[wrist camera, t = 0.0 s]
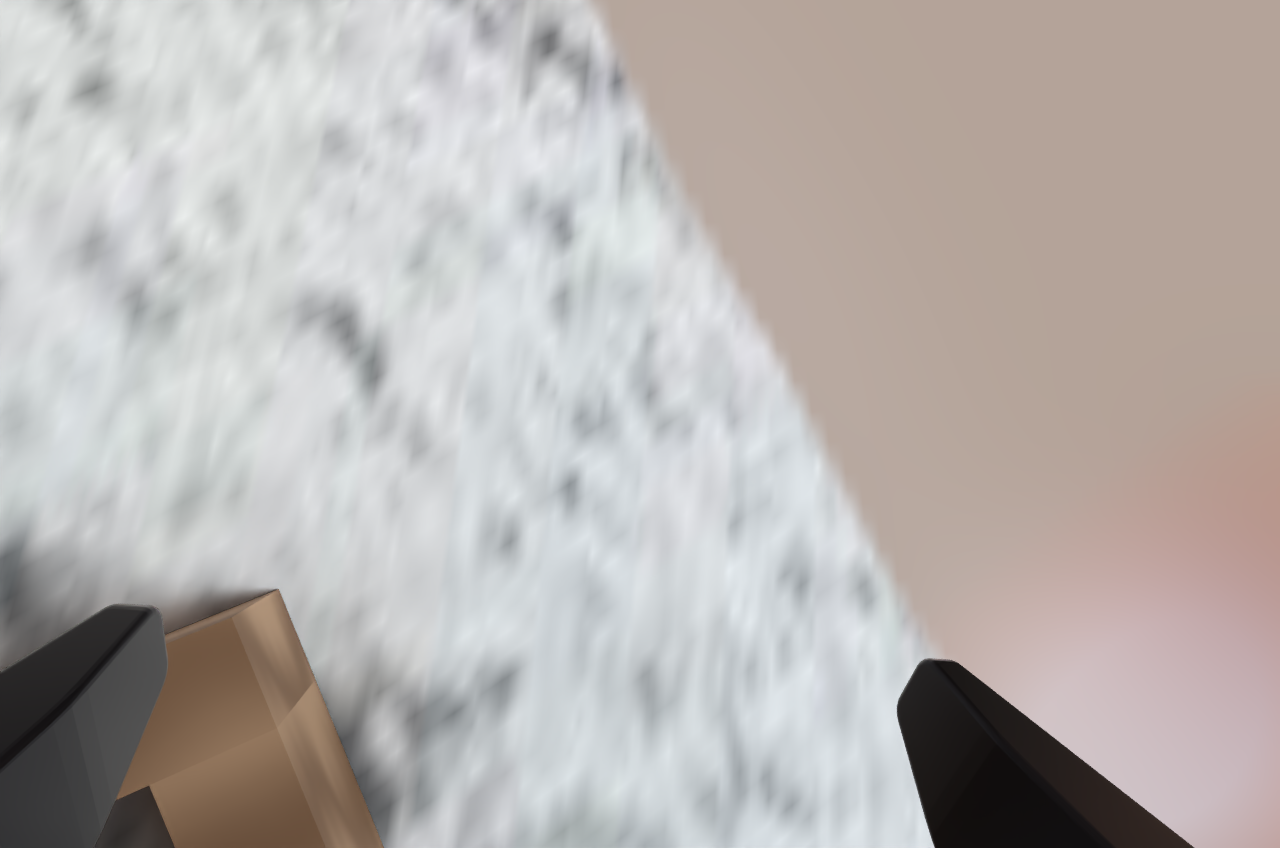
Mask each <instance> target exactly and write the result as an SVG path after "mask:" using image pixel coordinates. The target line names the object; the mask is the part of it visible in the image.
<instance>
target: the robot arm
mask: <svg viewBox="0 0 1280 848" xmlns="http://www.w3.org/2000/svg"><path fill="white" fill-rule="evenodd" d="M167 669H168V656H167V649H166V642H165V635H164V627H163V620H162V615H161V612H160V611H159V609H158V608H156V607H153V606H148V605H133V604H113V605H110V606H108V607H106V608H104V609H102V610H100V611H99V612H97V613H96V614H94V615H92V616H91V617H89V618H87V619H86V620H84V621H82V622H81V623H79V624H77V625H76V626H74V627H73V628H71V629H69V630H68V631H66V632H64V633H63V634H61V635H59V636H58V637H56V638H55V639H53V640H51V641H50V642H48V643H46V644H45V645H43V646H41V647H40V648H38V649H37V650H35V651H33V652H32V653H30V654H28V655H27V656H25V657H23V658H22V659H20V660H18V661H17V662H15V663H14V664H12V665H10V666H9V667H7V668H5V669H4V670H2V671H0V848H94V846H95V844H96V842H97V840H98V838H99V836H100V834H101V832H102V830H103V828H104V826H105V823H106V821H107V819H108V817H109V814H110V812H111V810H112V807H113V805H114V803H115V800H116V798H117V796H118V793H119V791H120V788H121V786H122V784H123V781H124V779H125V776H126V774H127V771H128V769H129V767H130V764H131V762H132V759H133V757H134V755H135V752H136V750H137V747H138V745H139V743H140V740H141V738H142V735H143V733H144V731H145V728H146V726H147V723H148V721H149V719H150V716H151V714H152V711H153V709H154V707H155V704H156V702H157V699H158V697H159V695H160V692H161V690H162V687H163V685H164V682H165V678H166V675H167ZM897 717H898V722H899V725H900V729H901V733H902V736H903V740H904V743H905V747H906V751H907V754H908V758H909V761H910V765H911V769H912V772H913V776H914V779H915V783H916V787H917V790H918V794H919V797H920V801H921V805H922V808H923V812H924V815H925V819H926V822H927V825H928V829H929V832H930V835H931V838H932V841H933V844H934V847H935V848H1194V847H1193V846H1192V845H1190V844H1189V843H1187V842H1186V841H1185V840H1184V839H1183V838H1181V837H1180V836H1179V835H1177V834H1176V833H1175V832H1174V831H1172V830H1171V829H1169V828H1168V827H1167V826H1166V825H1165V824H1163V823H1162V822H1161V821H1159V820H1158V819H1157V818H1156V817H1154V816H1153V815H1152V814H1151V813H1149V812H1148V811H1147V810H1145V809H1144V808H1143V807H1142V806H1140V805H1139V804H1138V803H1137V802H1135V801H1134V800H1133V799H1131V798H1130V797H1129V796H1127V795H1126V794H1125V793H1124V792H1122V791H1121V790H1120V789H1119V788H1117V787H1116V786H1115V785H1113V784H1112V783H1111V782H1110V781H1108V780H1107V779H1106V778H1105V777H1103V776H1102V775H1101V774H1099V773H1098V772H1097V771H1096V770H1094V769H1093V768H1092V767H1091V766H1089V765H1088V764H1087V763H1085V762H1084V761H1083V760H1081V759H1080V758H1079V757H1078V756H1076V755H1075V754H1074V753H1073V752H1071V751H1070V750H1069V749H1068V748H1066V747H1065V746H1064V745H1062V744H1061V743H1060V742H1059V741H1057V740H1056V739H1055V738H1053V737H1052V736H1051V735H1050V734H1048V733H1047V732H1046V731H1044V730H1043V729H1042V728H1041V727H1039V726H1038V725H1037V724H1036V723H1034V722H1033V721H1032V720H1030V719H1029V718H1028V717H1027V716H1025V715H1024V714H1023V713H1021V712H1020V711H1019V710H1018V709H1016V708H1015V707H1014V706H1013V705H1011V704H1010V703H1009V702H1007V701H1006V700H1005V699H1004V698H1002V697H1001V696H1000V695H998V694H997V693H996V692H995V691H993V690H992V689H991V688H989V687H988V686H987V685H986V684H984V683H983V682H982V681H981V680H979V679H978V678H977V677H975V676H974V675H973V674H972V673H970V672H969V671H968V670H966V669H965V668H964V667H963V666H961V665H960V664H959V663H957V662H955V661H952V660H946V659H931V658H928V659H924V660H923V661H921V662H920V663H919V664H918V665H917V667H916V669H915V671H914V672H913V674H912V676H911V678H910V680H909V681H908V683H907V685H906V687H905V688H904V690H903V692H902V694H901V696H900V698H899V700H898V704H897Z"/></svg>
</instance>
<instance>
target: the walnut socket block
mask: <svg viewBox="0 0 1280 848" xmlns="http://www.w3.org/2000/svg"><path fill="white" fill-rule="evenodd" d="M165 642H166V649H167V656H168V669H167V675H166V678H165V682H164V685H163V687H162V690H161V692H160V695H159V697H158V699H157V702H156V704H155V707H154V709H153V711H152V714H151V716H150V719H149V721H148V723H147V726H146V728H145V731H144V733H143V735H142V738H141V740H140V743H139V745H138V747H137V750H136V752H135V755H134V757H133V759H132V762H131V764H130V767H129V769H128V771H127V774H126V776H125V779H124V781H123V784H122V786H121V788H120V791H119V793H118V796H117V798H116V800H118V799H120V798H122V797H124V796H127V795H129V794H131V793H133V792H136V791H138V790H140V789H142V788H145V787H147V786H150V789H151V791H152V794H153V796H154V798H155V801H156V803H157V806H158V808H159V810H160V813H161V815H162V818H163V820H164V822H165V825H166V827H167V830H168V832H169V835H170V837H171V839H172V842H173V844H174V847H175V848H384V847H383V845H382V842H381V840H380V837H379V835H378V832H377V830H376V827H375V825H374V822H373V820H372V817H371V815H370V813H369V810H368V808H367V805H366V803H365V800H364V798H363V795H362V793H361V790H360V788H359V786H358V783H357V781H356V778H355V776H354V773H353V771H352V768H351V766H350V763H349V761H348V759H347V756H346V754H345V751H344V749H343V746H342V744H341V741H340V739H339V736H338V734H337V731H336V729H335V727H334V724H333V722H332V719H331V717H330V714H329V712H328V709H327V707H326V704H325V702H324V700H323V697H322V695H321V692H320V690H319V687H318V685H317V682H316V680H315V677H314V675H313V673H312V670H311V668H310V665H309V663H308V660H307V658H306V655H305V653H304V650H303V648H302V645H301V643H300V641H299V638H298V636H297V633H296V631H295V628H294V626H293V623H292V621H291V618H290V616H289V614H288V611H287V609H286V606H285V604H284V601H283V599H282V596H281V594H280V591H279V589H278V590H275V591H273V592H270V593H268V594H265V595H263V596H260V597H258V598H255V599H253V600H250V601H248V602H245V603H243V604H240V605H238V606H235V607H233V608H230V609H228V610H225V611H223V612H221V613H218V614H216V615H213V616H211V617H208V618H206V619H203V620H201V621H198V622H196V623H193V624H191V625H188V626H186V627H183V628H181V629H178V630H176V631H173V632H171V633H168V634H166V635H165Z"/></svg>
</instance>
